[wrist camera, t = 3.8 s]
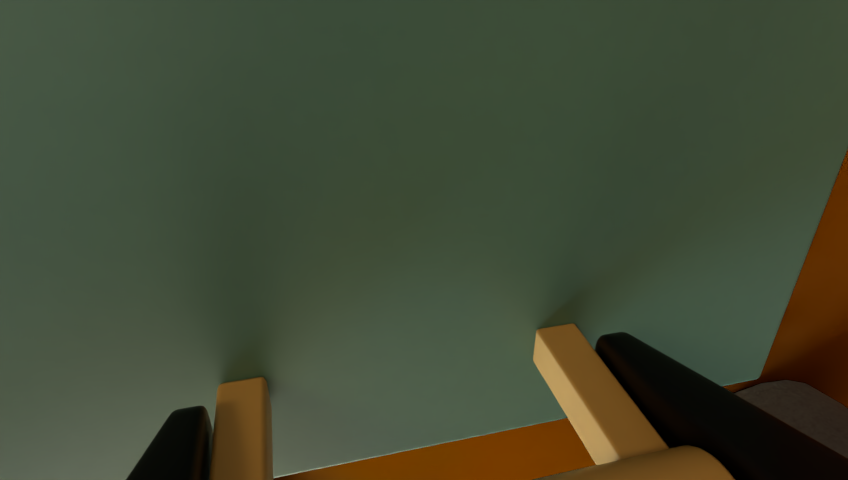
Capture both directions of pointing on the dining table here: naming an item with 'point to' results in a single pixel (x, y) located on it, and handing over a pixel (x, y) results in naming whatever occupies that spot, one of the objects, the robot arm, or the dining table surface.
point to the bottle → (803, 411)
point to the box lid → (396, 219)
